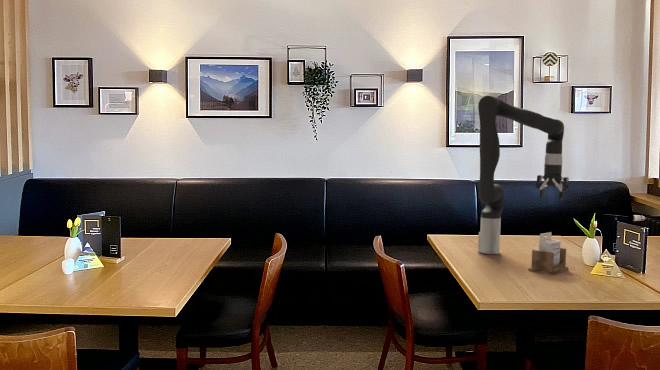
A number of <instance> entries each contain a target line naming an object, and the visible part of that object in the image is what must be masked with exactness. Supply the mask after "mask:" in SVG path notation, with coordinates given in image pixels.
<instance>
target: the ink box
mask: <svg viewBox="0 0 660 370" xmlns="http://www.w3.org/2000/svg"><path fill="white" fill-rule="evenodd" d="M538 242H539V244H538V250H539V251H545V252H551V253H554V264H553V266H556V265H558V264H559V261H560V248H561V244H562V243H561V242H562V241H561V240H558V239H554V238H552V231H550V232H549V231H548V232H545V233H544V232H543V233H540V234H539V241H538Z"/></svg>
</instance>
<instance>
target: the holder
mask: <svg viewBox="0 0 660 370" xmlns="http://www.w3.org/2000/svg"><path fill="white" fill-rule="evenodd" d="M566 262H567V248H564V247H560V261H559V264H558V265H556V266H553V264H554V253H551V252H545V251H539V249H532V250H531V267H529V268H527V270H528V272H535V273H539V274H544V275H549V276H555V275H558V274H560V273H563V272H565V271H568V270H569V266H567V265H566Z"/></svg>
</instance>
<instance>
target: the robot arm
mask: <svg viewBox="0 0 660 370" xmlns="http://www.w3.org/2000/svg"><path fill="white" fill-rule="evenodd" d="M477 106H478V108H477V109H478V117H479V125H480V126H479V183H478V198H479V201H480V202H482V203H483V204H484V205H485V206H484V208H483V209H482V210H481V212H480V231H479V232H478V236H477V237H478V241H477V242H478V243H477V253H478V252H479V253H481V254H484V255H485V254H486V255H498V254H500V249H501V248H500V247H501V246H500V245H501V244H500V242H501V225H502V224H501V221H502V220H501V219H502V213H503V210H504V200H505V195H504V194H505V192H504V189H503V187H502V186H501V185H500V184H498V183H495V181H494V180H495V171H496V169H497V166H498V164H499V161H500V155H501V153H500V152H501V150H500V149H501V148H500V137H499V134H498V133H499V132H498V130H497V122H496V121H497V117H502V118H506V119H509V120H511V121H514V122H516V123H519V124H521V125H523V126H525V127H528V128H532V129H536V130H538V131H540V132H543V133H545V134H547V140H546V143H545V144H546V145H545V155H544V164H543V165H544V167H543V168H544V169H543V175H541V174H538V175H537V176H536V183H535V186H536V187H535V188H536V189H539V196H540V198H541V199H544V198H545V193H546V190H545V189H546V188H547V187H548V186H553V187H556V188H557V189H558V190H559V192H558V200H559V201H561V200H563V199H564V198H565V197H564V196H565V195H564V194H565V191H568V190H569V176H564V177H562V173H563V172H562V171H563V169H562V168H563V140H564V135H565V134H564V133H565V125H564V122H563V121H562V120H560V119H557V118H556V119H555V118H552V117H548V116H545V115H542V114H541V113H538V112H535V111H532V110H530V109H529V110H528V109H526V108H525V109H524V108H522V107H517V106H515V105H512V104H509V103H507V102H504V101H503V100H501V99H499V98H498V97H496V96H494V95H489V94H488V95H487V94H486V95H483V96H481V98H480V99H479V101H478V105H477ZM543 180H544V181H543ZM542 181H543V183H542ZM562 182H563V184H562Z"/></svg>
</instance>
